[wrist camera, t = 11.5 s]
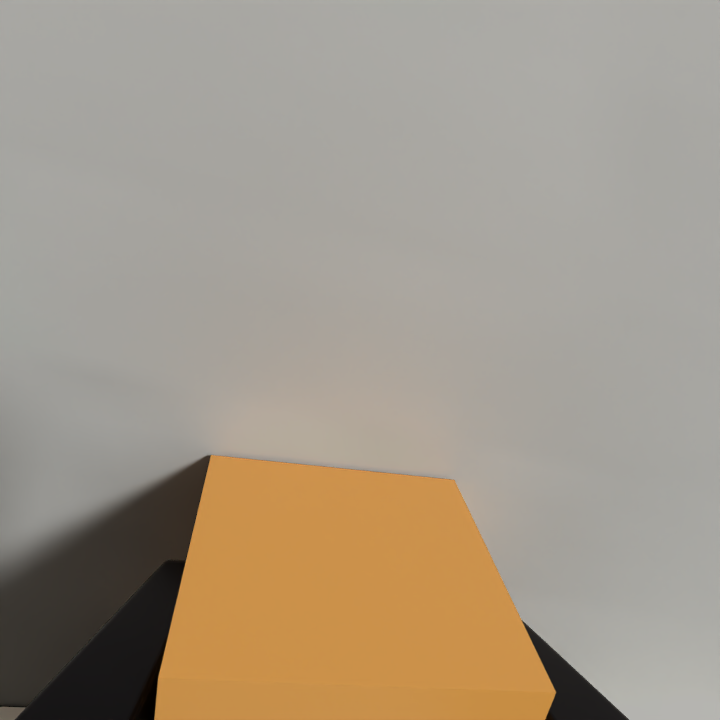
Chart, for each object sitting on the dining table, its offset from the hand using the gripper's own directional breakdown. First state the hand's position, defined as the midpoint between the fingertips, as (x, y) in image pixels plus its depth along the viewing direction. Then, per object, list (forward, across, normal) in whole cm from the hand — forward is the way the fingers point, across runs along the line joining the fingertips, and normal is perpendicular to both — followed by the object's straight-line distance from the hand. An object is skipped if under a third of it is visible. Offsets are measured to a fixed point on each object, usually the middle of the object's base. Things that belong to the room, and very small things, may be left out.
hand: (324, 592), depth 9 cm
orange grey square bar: (+1, 0, +6) cm, 6 cm away
